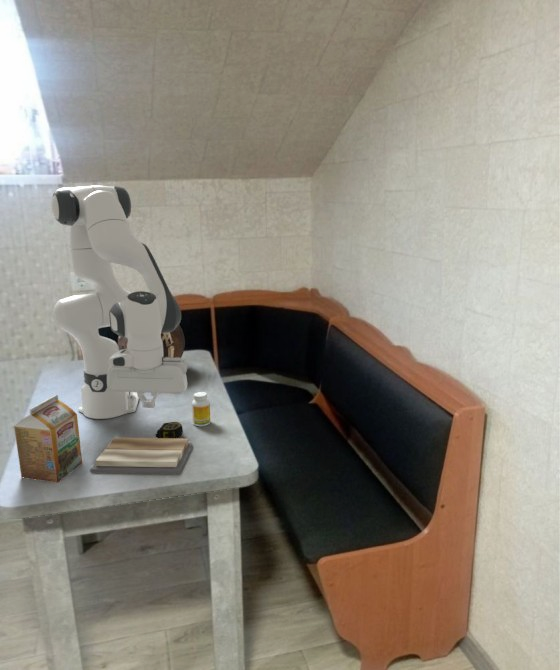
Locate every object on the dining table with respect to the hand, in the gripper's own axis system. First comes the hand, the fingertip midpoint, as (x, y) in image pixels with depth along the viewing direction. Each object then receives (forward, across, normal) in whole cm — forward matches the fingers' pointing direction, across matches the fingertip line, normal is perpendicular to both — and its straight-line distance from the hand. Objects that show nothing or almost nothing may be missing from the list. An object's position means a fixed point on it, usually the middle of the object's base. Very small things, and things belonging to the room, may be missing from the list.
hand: (148, 406), depth 150 cm
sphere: (+18, +19, -71) cm, 76 cm away
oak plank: (+14, +2, -5) cm, 15 cm away
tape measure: (+16, -1, -14) cm, 21 cm away
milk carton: (+16, +24, +7) cm, 30 cm away
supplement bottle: (+16, -9, -24) cm, 30 cm away
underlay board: (+15, +2, 0) cm, 15 cm away
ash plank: (+14, +2, +3) cm, 15 cm away
